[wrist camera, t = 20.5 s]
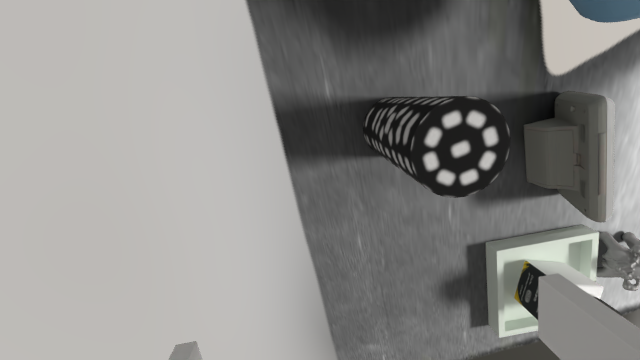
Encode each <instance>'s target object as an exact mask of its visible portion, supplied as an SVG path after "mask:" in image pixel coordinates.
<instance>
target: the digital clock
mask: <svg viewBox="0 0 640 360" xmlns="http://www.w3.org/2000/svg"><path fill="white" fill-rule="evenodd" d="M614 136H615V105H614V102H613V100H611V99H609V98H607V97H604V96H601V95H596V94H588V93H581V92H574V91H566V92H563V93H561V94H560V95H559V96H558V97H557V98H556V99H555V118H551V119H547V120H543V121H539V122H534V123H530V124H526V125H524V142H525V158H526V175H527V182H530V183H533V184H536V185H538V186H541V187H544V188H548V189H558V192H559V193H560V194H561V195H562V196H563V197H564V198H565V199H566V200H567V201H569V202H570V203H571V204H572V205H573V206H574V207H575V208H577V209H578V210H579V211H580V212H581V213H582V214H584V215H585V216H586V217H587V218H589V219H591V220H593V221H596V222H606V221H607V220H608V219H609V218H610V217H611V216H612V215H613V195H614Z"/></svg>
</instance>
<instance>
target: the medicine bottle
mask: <svg viewBox="0 0 640 360" xmlns="http://www.w3.org/2000/svg"><path fill="white" fill-rule="evenodd" d="M557 273H559V274H560V275H562V276H563V277H565V278H566V279H568V280H569V281H571V282H572V283H574V284H575V285H576V286H578V287H579V288H581V289H582V290H584V291H585V292H587V293H588V294H590V295H591V296H593V297H594V298H596V299H597V300H599V301H600V302H601V303H603V304H604V305H606V306H607V307H609V308H610V309H612V310H613V311H615V312H616V313H618V314H619V315H621V314H620V312H618V311H617V310H615V309H614V308H612V307H611V306H610V305H608V304H607V303H605V302H604V301H602V300H601V299H600V297H601V294H602V291H603V287H602V286H601V285H599V284H598V283H596V282H595V281H593V280H591V279H590V278H588V277H587V276H585V275H583V274H582V273H580V272H579V271H577V270H575V269H574V268H572V267H571V266H569V265H567V264H566V263H563V262H549V261H535V260H525V261H524V263H523V266H522V270H521V273H520V277H519V280H518V283H517V287H516V290H515V293H514V298H515V299H516V300H517V301H518V302H519V303H520V304H521V305H522V306H523V307H524V308H525V309H526V310H527V311H528V312H529V313H531V314H532V315H533V316H534V317H535V318H536V319H537V320H538V291H539V277H541V276H546V275H551V274H557ZM621 316H622V315H621Z"/></svg>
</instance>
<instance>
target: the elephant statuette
mask: <svg viewBox="0 0 640 360" xmlns="http://www.w3.org/2000/svg"><path fill="white" fill-rule="evenodd" d="M622 238H623V240H624V241H625V242H626V243H627V245H628V246H629V248H630V249H627V248H625V247H623V246H622V245H620V244H619V243H618V242H617V241H616V240H615V239H614V238H613V237H612V235H611V234H609V233H607V232H601V233H599V239H600V240H602V241H603V242H604V244H605V245H606V247H607V248H608V250H607V252H606V253H605V254H603V256H602V257H603V258H604V259H605V260H604V261H601V264H602V265H603V267H597V273H596V276H597V277H621V278H623V279H624V282H623V285H622V286H623V288H624V289H626V290H631V291H633V290H634V291H636V290H638V287H639V284H640V240H639V239H637V238H636V236H635V235H634V234H633V233H631V232H627V233H625V234H623V235H622ZM632 279H635V280H636V284H634V285H633V284H631V283H630V282H629V281H628V280H632Z"/></svg>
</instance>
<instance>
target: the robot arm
mask: <svg viewBox="0 0 640 360" xmlns="http://www.w3.org/2000/svg"><path fill="white" fill-rule="evenodd" d="M569 1H570V2H571V3H572V5H573V6H574V7H575V9H576V10H577V11H578V12H579V14H580V15H582V16H583V17H585V18H588V19H590V20H594V21H597V22H620V21H627V20H631V19H636V18H640V0H569ZM538 337H539V338H540V339H541V340H542V341H543V342H544V343H545V344H546V345H547V346H548V347H549V348H550V349H551V350H552V351H553V352H554V353H555V354H556V355H557V356H558V357H559V358H560V359H561V360H640V328H638V327H637V326H635V325H634V324H632V323H631V322H629V321H628V320H626V319H625V318H624V317H622V316H621V315H619V314H618V313H616V312H615V311H613V310H612V309H610V308H609V307H607V306H606V305H604V304H603V303H601V302H600V301H599V300H597V299H596V298H594V297H593V296H591V295H590V294H588V293H587V292H585V291H584V290H582V289H581V288H579V287H578V286H576V285H575V284H574V283H572V282H571V281H569V280H568V279H566V278H565V277H563V276H562V275H560V274H559V273H557V274H551V275H546V276H541V277H539V291H538ZM169 360H202V357H201V354H200V351H199V348H198V345H197V342H196V341H195V342H189V343H184V344H179V345H176V346H175V348H174V350H173V352H172V354H171V356H170V358H169Z"/></svg>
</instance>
